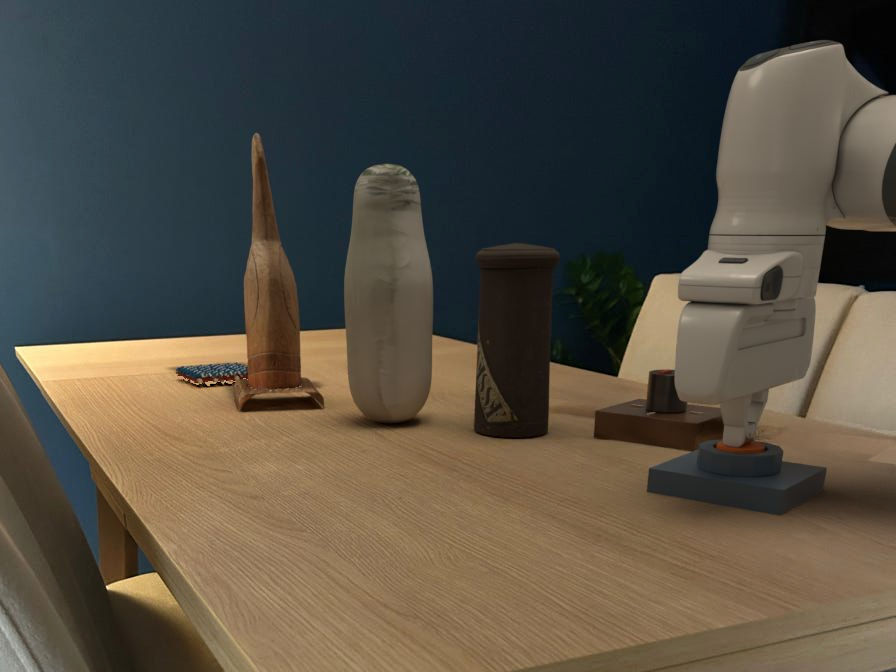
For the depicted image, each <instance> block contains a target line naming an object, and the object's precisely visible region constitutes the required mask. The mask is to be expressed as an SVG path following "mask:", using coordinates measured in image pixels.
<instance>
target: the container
mask: <svg viewBox="0 0 896 672" xmlns="http://www.w3.org/2000/svg"><path fill="white" fill-rule="evenodd" d="M560 260H561V254H560V252H559V251H558V250H556V248H553V247H547V246H541V245H536V244H528V243H522V242H521V243H519V242H517V243H516V242H513V243H508V244H501V245H494V246H490V247H484V248H481V249H480V250H479V251H478V252H477V253H476V254H475V263H476V264H477V266H478V268H479V294H478V295H479V296H478V322H477V324H478V325H477V328H478V329H477V342H476V343H477V346H476V348H477V350H476V369H475V371H476V372H475V390H474V391H475V393H474V415H473V416H474V417H473V429H474V430H475V432H477V433H479V434H482V435H486V436H491V437H498V438H499V437H501V438H532V437H537V436H543V435H545V434H547V433H548V431H549V421H550V420H549V416H550V378H551V377H550V373H551V344H552V343H551V338H552V310H553V291H554V273H555V272H554V271H555V268H557V266H558V264H559V263H560Z"/></svg>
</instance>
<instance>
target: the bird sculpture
mask: <svg viewBox="0 0 896 672" xmlns="http://www.w3.org/2000/svg"><path fill="white" fill-rule="evenodd" d="M251 173H252V211H251V212H252V226H251V227H252V229H251V230H252V232H251V244H250V248H249V254H248V258H247V263H246V270H245V273H244V276H243V277H244V278H243V301H244V303H243V304H244V319H245V321H244V322H245V337H246V357H247V358H246V359H247V366H248V380H247V379H239V380H237V381H236V382H235V383H233V386H232V390H233V391H232V392H233V397H234V401H235V404H236V406H237V409H238V410H239V411H241V409H242V408H243V406H244V405H245V404H246V402H247V401H248V400H250V399H252V398H253V397H254V396H258V395H264V394H291V393H305V394H308V395H310V397H312V398H313V399H314V400H315V401H317V402H318V403H319V404H320V405H321V406H322V407H323V408H325V399H324V396H323V395H322V394H321V392H320V391H319V390H318V389H317V387H315V385H314V384H313V382H312V381H311V380H310V379H309V378H308V377H304V376H303V377H302V359H301V357H302V356H301V325H300V321H301V320H300V308H299V297H298V288H297V287H298V286H297V282H296V280H295V276H294V272H293V270H292V267H291V264H290V262H289V259H288V257H287V255H286V252H285V249H284V248H283V246H282V241H281V237H280V233H279V230H278V229H279V228H278V224H277V219H276V213H275V212H276V211H275V207H274V204H273V203H274V201H273V195H272V189H271V186H270V184H271V183H270V179H269V173H268V168H267V162H266V155H265V151H264V147H263V143H262V137H261V135H260V134H259V133H258V132H255V133H254V135H253V136H252V139H251Z"/></svg>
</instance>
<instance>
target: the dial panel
mask: <svg viewBox="0 0 896 672" xmlns="http://www.w3.org/2000/svg"><path fill="white" fill-rule="evenodd" d="M646 400H647V398H646V399H645V398H636V399H633V400H629V401H625V402H622V403H618V404H614V405H611V406H606V407H603V408H599V409H596V410H595V412H594V427H593V438H595V437H596V439H603V440H612V441H619V442H625V443H632V444H639V445H646V446H653V447H659V448H660V447H661V448H668V449H674V450H680V451H689V452H693V451H695V450H698V445H699V444H700V443H703V442H705V441H709V440H721V439H723V432H724V423H723V418H722V413H721V409H720V407H714V406H708V405H707V406H706V405H700V404H689V403H687V410H686V411H684V412H680V413H660V412H653V411H649V410H647V409H646Z"/></svg>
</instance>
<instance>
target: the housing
mask: <svg viewBox="0 0 896 672" xmlns="http://www.w3.org/2000/svg"><path fill="white" fill-rule="evenodd" d="M720 441H723V439H721V440H709V441H705V442H703V443H700V444H699V445H698V450H695V451H689V452H688V453H684V454H682V455H679V456H677V457H674V458H671V459H668V460H666V461H663V462H661V463H659V464H656V465H653V466H651V467H649V468H648V474H647V484H646V493H650V494H657V495H662V496H668V497H674V498H679V499H683V500H684V499H685V500H689V501H696V502H701V503H702V502H703V503H708V504H714V505H717V506H724V507H731V508H735V509H742V510H747V511H752V512H756V513H757V512H758V513H764V514H768V515H769V514H770V515H775V516H782V515H784V514H786V513H788V512H789V511H791V510H792V509H794V508H796V507H798V506H800V505H801V504H803V503H805V502H807V501H809V500H811V499H813V498H814V497H816V496H817V495H819V494H821V493H823V492H824V487H825V481H826V475H827V468H828V467H826V466H819V465H813V464H805V463H797V462H792V461H784V460H783V456H784V450H783V448H782V447H781V446H780V445H777V444H773V443H770V442H767V441H760V440H754V441H753V442H758V443H761V444H763V445H765V450H764V452H760V453H735V452H728V451H722V450H719V449H716V446H717V443H718V442H720Z"/></svg>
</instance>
